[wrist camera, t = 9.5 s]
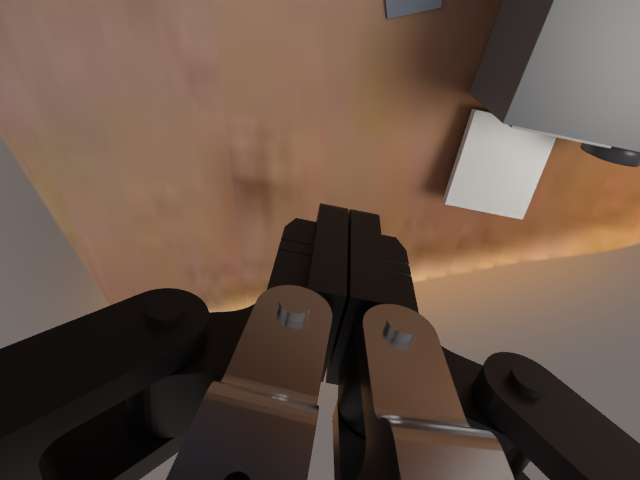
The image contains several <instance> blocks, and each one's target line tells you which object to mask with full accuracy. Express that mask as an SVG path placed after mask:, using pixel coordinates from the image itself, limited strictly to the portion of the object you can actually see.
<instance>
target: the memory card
mask: <svg viewBox="0 0 640 480" xmlns="http://www.w3.org/2000/svg"><path fill="white" fill-rule="evenodd" d="M385 1H386V10H387V19H391V18H395V17H400V16H405V15H409V14H414V13H419V12H423V11H428V10H433V9H437V8H442V0H385Z"/></svg>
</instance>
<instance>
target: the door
mask: <svg viewBox="0 0 640 480" xmlns="http://www.w3.org/2000/svg"><path fill="white" fill-rule="evenodd" d="M555 140H556V137H552V136H548V135H543V134H538V133H533V132H528V131H523V130H519V129H514V128H511V127H510V126H509V125H507V124H503V123H502V122H501V121H500V120H499V119H497V118H496V117H495V116H494V115H493V114H492V113H490V112H486V111H481V110H476V109H472V110H471V114H470V117H469V120H468V123H467V126H466V129H465V132H464V135H463V138H462V141H461V144H460V148H459V151H458V154H457V157H456V160H455V163H454V166H453V169H452V172H451V175H450V179H449V182H448V185H447V188H446V191H445V194H444V197H443V200H442V201H443V202H444V204H447V205H452V206H457V207H462V208H467V209H472V210H477V211H482V212H487V213H492V214H497V215H502V216H507V217H512V218H517V219H522V220H523V218H524V215H525V213H526V211H527V208H528V206H529V203H530V201H531V198H532V196H533V193H534V191H535V189H536V186H537V184H538V181H539V179H540V176H541V174H542V171H543V169H544V167H545V164H546V162H547V159H548V157H549V154H550V152H551V150H552V147H553V145H554V142H555Z"/></svg>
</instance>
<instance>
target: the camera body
mask: <svg viewBox="0 0 640 480" xmlns="http://www.w3.org/2000/svg"><path fill="white" fill-rule="evenodd" d="M470 94H471V95H472V96H474V97H475V98H476V99H477V100H478V101H479V102H480V103H481V104H482V105H483V106H484V107H486V108H487V109H488V110H489V111H490V112H491V113H492V114H493V115H494V116H495V117H496V118H497V119H499V120H500V121H501V122H502V123H503V124H507V125H509V126H510V127H511V128H514V129H519V130H523V131H528V132H533V133H538V134H543V135H548V136H552V137H557V138H562V139H567V140H572V141H576V142H581V143H582V145H581V146H580V147H581V149H582V150H584V151H585V152H587V153H589V154H591V155H593V156H595V157H597V158H599V159H602V160H605V161H608V162H611V163H615V164H619V165H624V166H630V167H638V166H639V165H640V0H503V1H502V3H501V6H500V9H499V12H498V14H497V17H496V20H495V23H494V26H493V28H492V31H491V34H490V37H489V40H488V42H487V45H486V48H485V51H484V54H483V56H482V59H481V62H480V65H479V68H478V70H477V73H476V76H475V79H474V81H473V84H472V87H471V90H470Z"/></svg>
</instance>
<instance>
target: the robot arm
mask: <svg viewBox="0 0 640 480" xmlns="http://www.w3.org/2000/svg"><path fill="white" fill-rule="evenodd" d="M348 212H349V214H348ZM408 264H409V262H408V257H407V252H406V249H405V248H404V247H403V246H402V245H401V243H400V242H399V241H398V240H397V238H396V237H390V236H385V235H381V227H380V218H379V215H377V214H372V213H367V212H362V211H357V210H352V209H350V211H349V210H348V209H347V208H342V207H336V206H331V205H326V204H321V203H320V206H319V211H318V216H317V221H316V222H313V221H308V220H303V219H298V218H296V219H294V220H293V221H292V222H290V223H289V224H288V225H286V226H285V228H284V231H283V235H282V238H281V242H280V245H279V249H278V252H277V256H276V259H275V263H274V267H273V270H272V274H271V277H270V281H269V284H268V288H267V290H266V291H265V292H263V293H262V294H261V295H260V296H259V297H258V299H257V301H256V303H255V304H254V305H252V306H250V307H248V308H245V309H242V310H237V311H230V312H212V313H209V311H208V308H207V306H206V304H205V303H204V302H203V301H202V299H200V298H199V297H198V296H196V295H194V294H192V293H190V292H188V291H185V290H180V289H173V288H163V289H155V290H150V291H147V292H144V293H141V294H138V295H136V296H133V297H131V298H128V299H126V300H123V301H121V302H118V303H116V304H113V305H111V306H108V307H106V308H103V309H101V310H98V311H96V312H93V313H90V314H88V315H85V316H83V317H80V318H78V319H75V320H72V321H70V322H67V323H65V324H62V325H60V326H57V327H55V328H52V329H50V330H47V331H44V332H42V333H39V334H37V335H34V336H32V337H29V338H27V339H24V340H22V341H19V342H17V343H14V344H12V345H9V346H6V347H4V348H1V349H0V480H139V479H141V478H142V477H143V476H145V475H146V474H148V473H149V472H151V471H152V470H153V469H155V468H156V467H157V466H159V465H160V464H162V463H163V462H165V461H166V460H167V459H169V458H170V457H172V456H173V455H175V454H176V453H177V452H178V454H177V457H176V459H175V461H174V463H173V465H172V468H171V470H170V472H169V474H168V476H167V478H166V480H307V478H308V472H309V466H310V460H311V455H312V448H313V442H314V437H315V431H316V424H317V418H318V411H319V406H318V405H317V402H318V396H319V390H320V384H321V382H323V380H324V376H325V372H326V369H327V374H326V383H331V384H336V385H338V386H339V387H338V400H337V403H336V406H335V409H334V412H333V419H332V423H333V452H334V480H530V479H529V478H528V477H527V476H526V475H525V474H524V473H523V472H522V471H523V470H524V468H525V467H526V466H527V465H528V463H529V462H530V461H532V463H534V464H535V466H537V467H538V468H539V469H540V470H541V471H542V472H543V473H544V474H545V475H546V476H547V477H548V478H549V479H550V480H640V444H639V443H638V442H637V441H636V440H634V439H633V438H632V437H631V436H629V435H628V434H627V433H626V432H624V431H623V430H622V429H621V428H619V427H618V426H617V425H616V424H614V423H613V422H612V421H611V420H609V419H608V418H607V417H606V416H604V415H603V414H602V413H601V412H599V411H598V410H597V409H595V408H594V407H593V406H592V405H591V404H589V403H588V402H587V401H586V400H584V399H583V398H582V397H581V396H579V395H578V394H577V393H575V392H574V391H573V390H572V389H570V388H569V387H568V386H567V385H566V384H564V383H563V382H562V381H561V380H559V379H558V378H557V377H556V376H554V375H553V374H552V373H551V372H549V371H548V370H547V369H545V368H544V367H543V366H541V365H540V364H538V363H536V362H535V361H533V360H531V359H529V358H527V357H524V356H522V355H519V354H515V353H509V352H499V353H495V354H492V355H491V356H489V357H488V358H487V360H486V361H485V363H484V365H483V366H482V365H480V364H478V363H476V362H473V361H471V360H469V359H466V358H464V357H462V356H459V355H457V354H455V353H453V352H451V351H449V350H447V349H445V348H444V347H442V346H441V344H440V341H439V338H438V335H437V333H436V331H435V329H434V327H433V326H432V325H431V323H430V322H429V321H428V320H427V319H425V318H424V317H423V316H422V315H420V314H419V312H418V307H417V302H416V297H415V293H414V287H413V282H412V277H410V276H411V272H410V267H409V266H408Z"/></svg>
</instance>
